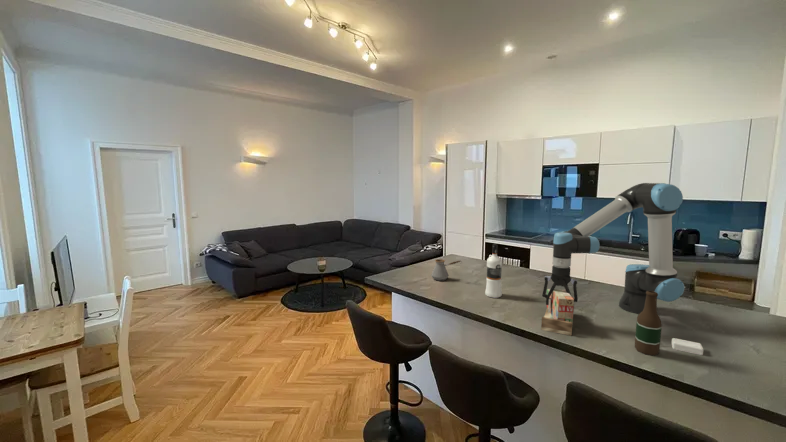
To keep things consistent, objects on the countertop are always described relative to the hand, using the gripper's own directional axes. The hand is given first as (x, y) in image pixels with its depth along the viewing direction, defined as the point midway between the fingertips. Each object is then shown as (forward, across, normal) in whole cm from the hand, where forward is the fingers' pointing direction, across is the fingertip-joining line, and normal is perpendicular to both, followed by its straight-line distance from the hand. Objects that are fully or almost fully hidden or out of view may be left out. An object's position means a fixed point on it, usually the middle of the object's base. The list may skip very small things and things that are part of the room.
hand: (558, 313), depth 158 cm
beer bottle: (+4, +32, -13) cm, 35 cm away
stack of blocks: (+1, 0, 0) cm, 1 cm away
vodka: (+4, -35, +21) cm, 41 cm away
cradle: (+4, 0, 0) cm, 4 cm away
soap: (+5, +46, -4) cm, 46 cm away
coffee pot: (+4, -69, +35) cm, 78 cm away
